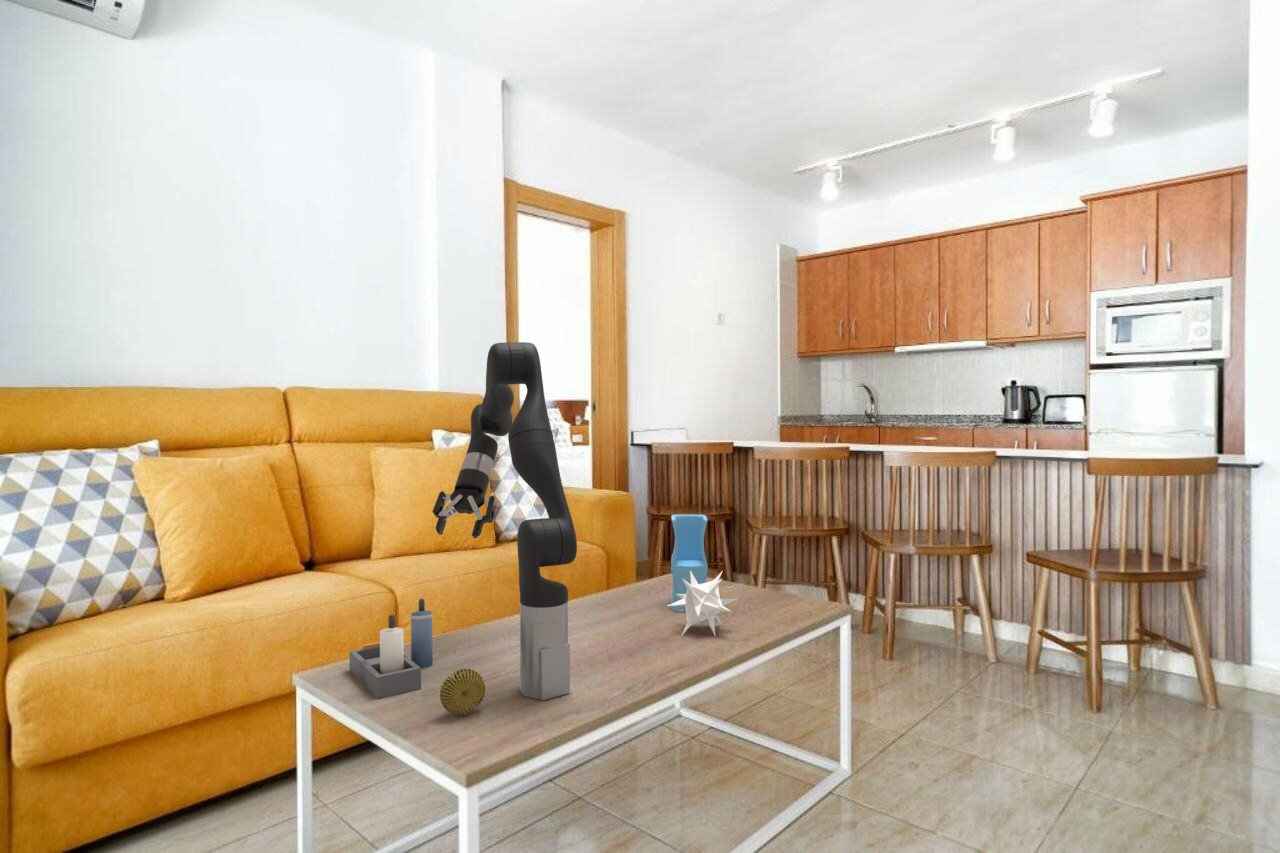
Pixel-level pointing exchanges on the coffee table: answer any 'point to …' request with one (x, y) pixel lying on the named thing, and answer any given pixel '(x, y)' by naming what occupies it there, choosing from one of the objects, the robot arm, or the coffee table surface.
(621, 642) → the coffee table surface
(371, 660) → the gray two-compartment caddy
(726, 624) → the coffee table surface
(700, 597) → the star ornament
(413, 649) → the canister
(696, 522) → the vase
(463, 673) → the sculpture
